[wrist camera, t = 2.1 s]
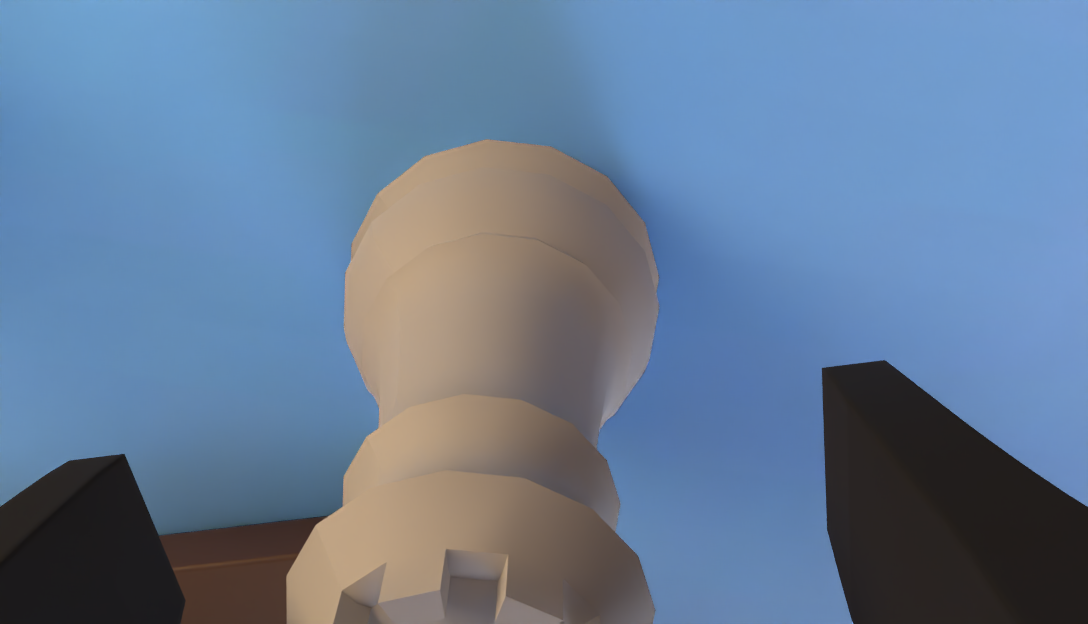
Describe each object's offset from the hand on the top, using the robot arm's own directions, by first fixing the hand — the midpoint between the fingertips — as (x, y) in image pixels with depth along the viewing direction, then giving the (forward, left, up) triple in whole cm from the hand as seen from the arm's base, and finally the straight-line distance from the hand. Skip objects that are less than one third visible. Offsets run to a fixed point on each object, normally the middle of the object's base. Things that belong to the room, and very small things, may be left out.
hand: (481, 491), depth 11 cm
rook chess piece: (0, 0, -6) cm, 6 cm away
